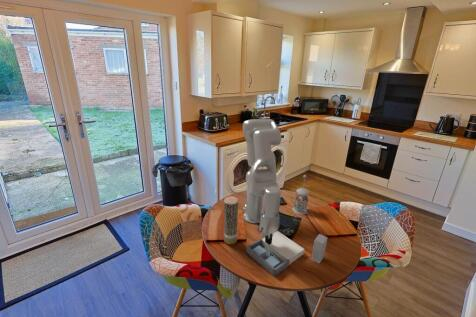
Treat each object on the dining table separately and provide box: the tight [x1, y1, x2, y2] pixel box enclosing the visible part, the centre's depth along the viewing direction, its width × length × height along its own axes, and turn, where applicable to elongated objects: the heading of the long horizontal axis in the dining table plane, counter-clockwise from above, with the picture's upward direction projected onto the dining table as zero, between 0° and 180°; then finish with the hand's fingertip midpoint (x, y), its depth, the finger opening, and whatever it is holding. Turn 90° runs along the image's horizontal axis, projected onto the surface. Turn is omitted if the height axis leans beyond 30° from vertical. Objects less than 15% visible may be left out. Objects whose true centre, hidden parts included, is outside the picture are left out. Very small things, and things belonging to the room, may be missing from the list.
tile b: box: [252, 246, 266, 257], centre depth 120 cm, size 5×5×2 cm
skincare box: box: [311, 233, 328, 264], centre depth 117 cm, size 6×4×12 cm
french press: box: [290, 174, 310, 215], centre depth 154 cm, size 10×12×25 cm
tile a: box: [265, 256, 280, 268], centre depth 113 cm, size 5×5×2 cm
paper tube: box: [223, 195, 239, 245], centre depth 125 cm, size 7×7×25 cm
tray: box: [245, 238, 290, 277], centre depth 117 cm, size 19×10×4 cm, turn 39°
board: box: [261, 230, 305, 265], centre depth 124 cm, size 18×12×3 cm, turn 39°
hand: (268, 242), depth 123 cm, fingers closed
